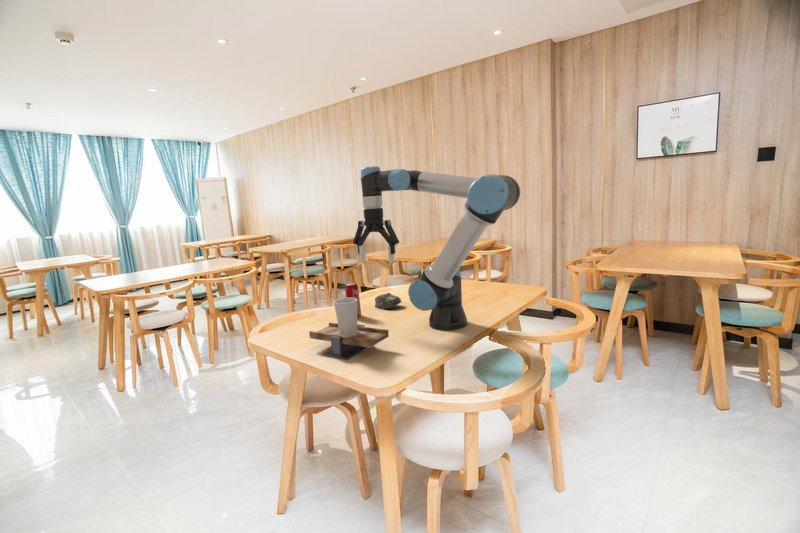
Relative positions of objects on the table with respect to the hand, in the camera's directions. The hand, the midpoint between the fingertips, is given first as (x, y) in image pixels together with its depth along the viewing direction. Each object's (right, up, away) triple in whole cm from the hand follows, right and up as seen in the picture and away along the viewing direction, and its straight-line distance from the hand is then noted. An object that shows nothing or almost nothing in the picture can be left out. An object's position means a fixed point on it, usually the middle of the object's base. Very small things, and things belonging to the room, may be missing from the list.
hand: (377, 262), depth 159 cm
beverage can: (-11, -24, +22) cm, 34 cm away
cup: (-9, -25, -19) cm, 33 cm away
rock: (+4, -22, +33) cm, 39 cm away
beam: (-9, -26, -19) cm, 33 cm away
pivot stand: (-9, -31, -18) cm, 37 cm away
